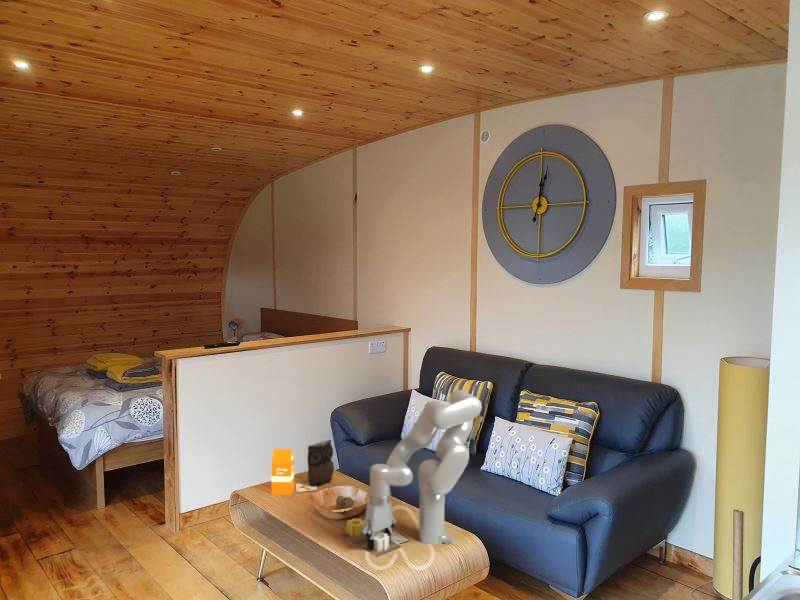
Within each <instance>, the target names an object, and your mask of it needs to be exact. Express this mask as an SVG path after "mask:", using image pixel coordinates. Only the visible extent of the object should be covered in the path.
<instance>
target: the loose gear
mask: <svg viewBox="0 0 800 600" xmlns="http://www.w3.org/2000/svg"><path fill="white" fill-rule="evenodd" d="M373 539H374V550H377V551H380V550H387V548H389V536H388V534H387V533H384V532H382V531H378V532H376V533H375V534H374V537H373Z"/></svg>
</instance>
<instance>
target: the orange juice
mask: <svg viewBox="0 0 800 600" xmlns="http://www.w3.org/2000/svg"><path fill="white" fill-rule="evenodd" d="M294 464H295V458H294V452H293V449H292V448H291V449H290V448H288V449H286V448H273V451H272V459H271V465H270V466H271V495H272V496H275V495H276V496H277V495H278V496H280V495H281V496H291V495H292V493H293V491H294V489H295V465H294Z"/></svg>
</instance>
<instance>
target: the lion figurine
mask: <svg viewBox="0 0 800 600" xmlns="http://www.w3.org/2000/svg"><path fill="white" fill-rule="evenodd" d="M335 501H336V502H335V503H336V504H335V505H337V506H336V507H338V508H340V510H341V509H347V508H350V509H352V507H354V506H355V504H356V501H355V500H353V499H352V497H351V496H346V497H344V496H343V495H341V494H340V495H337V497H336V500H335Z"/></svg>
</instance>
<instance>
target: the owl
mask: <svg viewBox="0 0 800 600" xmlns="http://www.w3.org/2000/svg"><path fill="white" fill-rule="evenodd" d="M331 442H332V440H331V439H329V440H326V441H321V442H317V443H314V444H312V445H309V446H308V447H307V449H308V450H307V469H308V470H307V471H308V472H307V480H308V485H309V487H312V488H313V487H321V486H325V485H326V484H330V483H331V481H332V479H333V475H334V469H335V466H334V464H335V463H334V462H333V460H332V458H333V456H334V450H333V449H334V448H333V446H332V444H331Z"/></svg>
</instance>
